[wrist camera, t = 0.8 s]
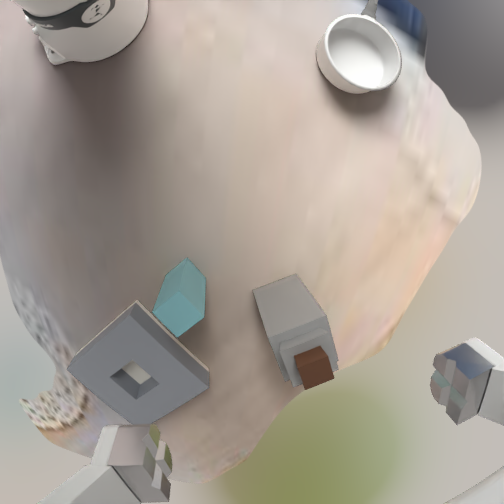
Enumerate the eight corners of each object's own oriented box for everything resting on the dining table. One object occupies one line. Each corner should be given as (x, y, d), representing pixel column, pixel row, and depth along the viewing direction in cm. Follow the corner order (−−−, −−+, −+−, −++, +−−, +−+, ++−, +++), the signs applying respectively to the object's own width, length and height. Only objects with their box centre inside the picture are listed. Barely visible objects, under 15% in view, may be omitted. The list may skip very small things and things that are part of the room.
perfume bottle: (252, 289, 47) (275, 361, 29) (296, 273, 47) (341, 335, 30) (267, 327, 49) (293, 406, 31) (308, 311, 49) (352, 383, 32)
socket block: (76, 352, 46) (66, 369, 41) (137, 299, 45) (129, 314, 40) (144, 411, 51) (140, 430, 46) (208, 368, 50) (209, 387, 45)
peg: (166, 274, 45) (152, 312, 33) (187, 257, 44) (178, 290, 33) (184, 294, 46) (177, 337, 34) (205, 278, 45) (204, 317, 34)
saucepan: (393, 7, 37) (410, -5, 31) (375, 108, 42) (395, 104, 36) (329, -22, 35) (341, -38, 29) (303, 81, 39) (316, 71, 34)
